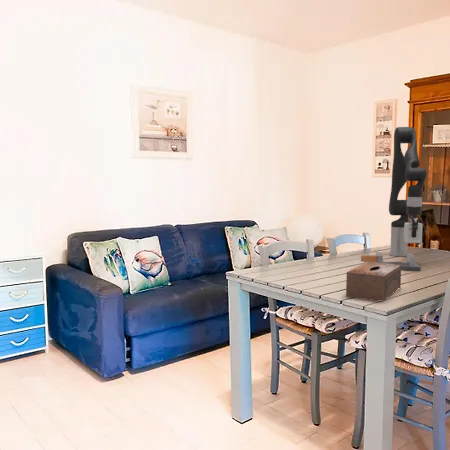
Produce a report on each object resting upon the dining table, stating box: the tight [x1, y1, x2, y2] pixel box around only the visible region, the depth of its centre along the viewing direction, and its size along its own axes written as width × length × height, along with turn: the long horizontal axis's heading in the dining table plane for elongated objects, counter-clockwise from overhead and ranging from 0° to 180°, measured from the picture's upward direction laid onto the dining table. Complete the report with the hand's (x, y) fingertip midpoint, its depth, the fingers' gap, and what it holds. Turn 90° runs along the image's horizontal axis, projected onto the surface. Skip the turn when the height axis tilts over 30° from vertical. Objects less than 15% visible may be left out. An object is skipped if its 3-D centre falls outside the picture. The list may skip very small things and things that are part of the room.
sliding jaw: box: [360, 251, 384, 263], centre depth 238 cm, size 12×10×5 cm
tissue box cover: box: [345, 262, 402, 302], centre depth 187 cm, size 26×14×10 cm, turn 145°
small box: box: [404, 222, 424, 244], centre depth 245 cm, size 8×6×10 cm
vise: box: [364, 252, 422, 272], centre depth 236 cm, size 12×26×7 cm, turn 76°
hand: (412, 236), depth 245 cm, fingers closed on small box, 6 cm apart
